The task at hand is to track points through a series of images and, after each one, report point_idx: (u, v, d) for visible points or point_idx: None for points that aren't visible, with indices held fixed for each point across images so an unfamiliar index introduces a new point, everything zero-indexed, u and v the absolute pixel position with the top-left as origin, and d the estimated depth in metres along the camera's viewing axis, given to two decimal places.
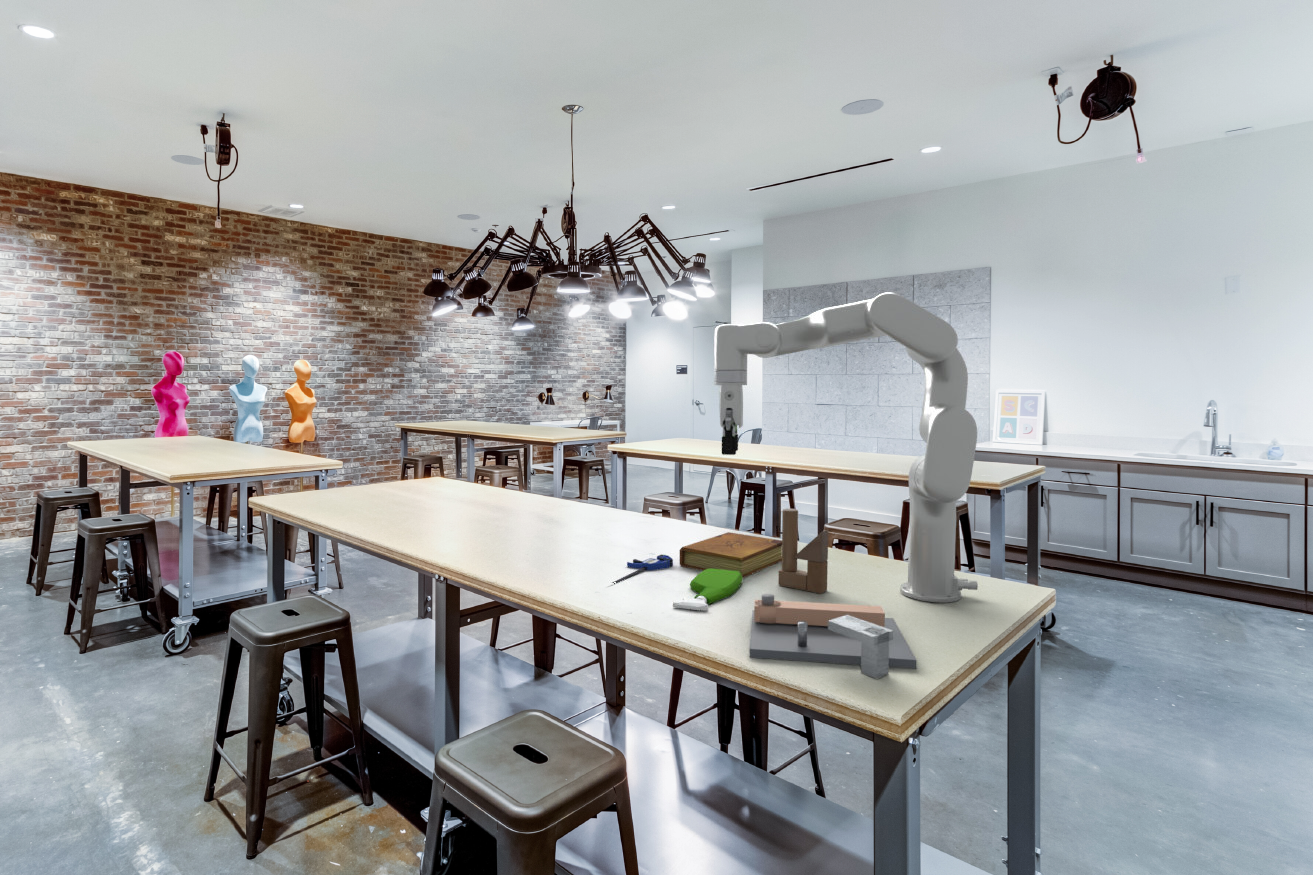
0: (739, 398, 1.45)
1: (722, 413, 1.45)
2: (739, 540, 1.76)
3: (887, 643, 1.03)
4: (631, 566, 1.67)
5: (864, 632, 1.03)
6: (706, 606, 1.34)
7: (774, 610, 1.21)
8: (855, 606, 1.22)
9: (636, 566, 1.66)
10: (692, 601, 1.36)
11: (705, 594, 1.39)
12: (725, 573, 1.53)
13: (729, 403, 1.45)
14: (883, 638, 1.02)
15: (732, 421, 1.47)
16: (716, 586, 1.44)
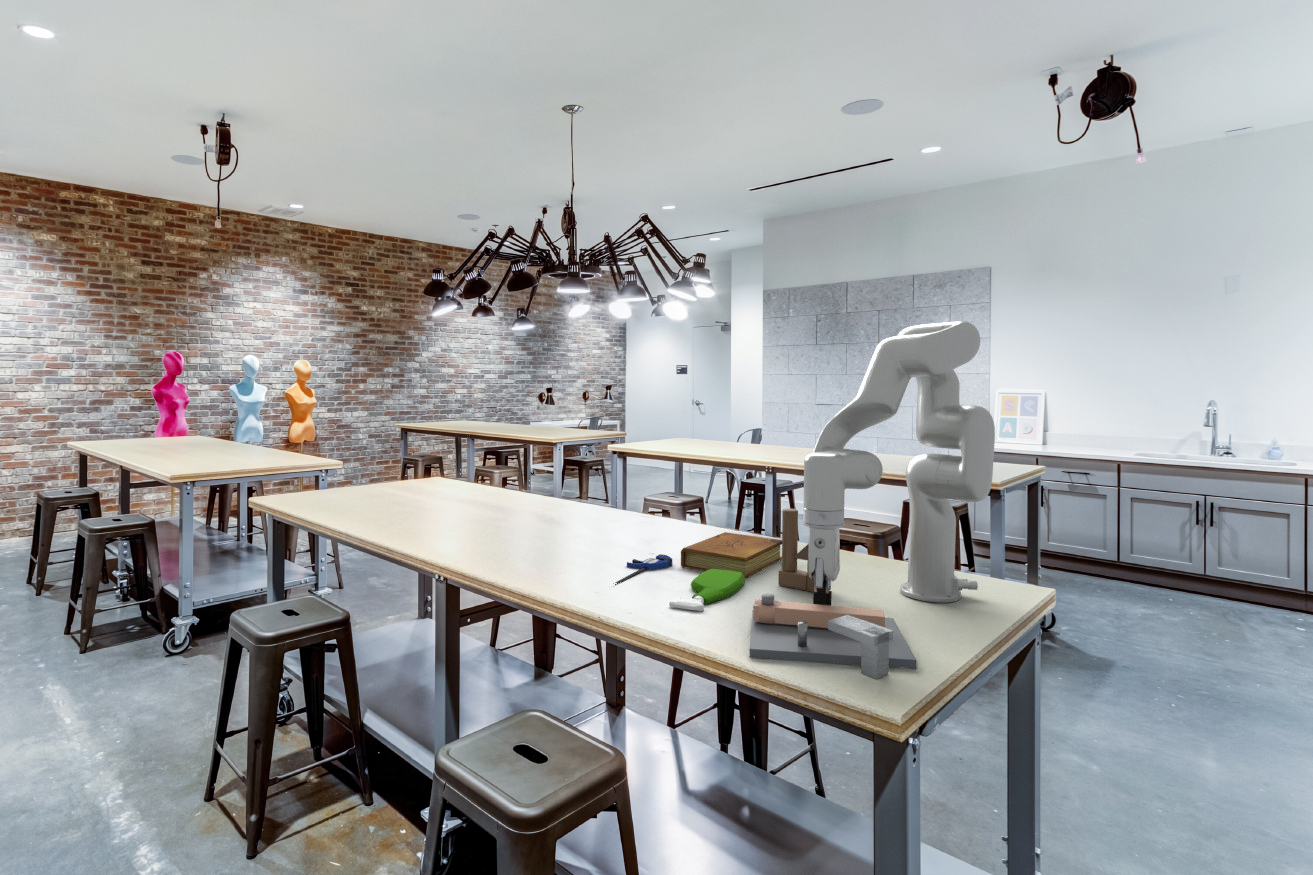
0: (832, 546, 1.18)
1: (811, 563, 1.20)
2: (738, 540, 1.76)
3: (887, 643, 1.03)
4: (631, 566, 1.67)
5: (864, 632, 1.03)
6: (702, 606, 1.34)
7: (773, 610, 1.21)
8: (856, 609, 1.20)
9: (636, 566, 1.66)
10: (688, 601, 1.36)
11: (702, 594, 1.39)
12: (727, 573, 1.53)
13: (819, 552, 1.19)
14: (883, 638, 1.02)
15: (824, 572, 1.21)
16: (715, 586, 1.43)
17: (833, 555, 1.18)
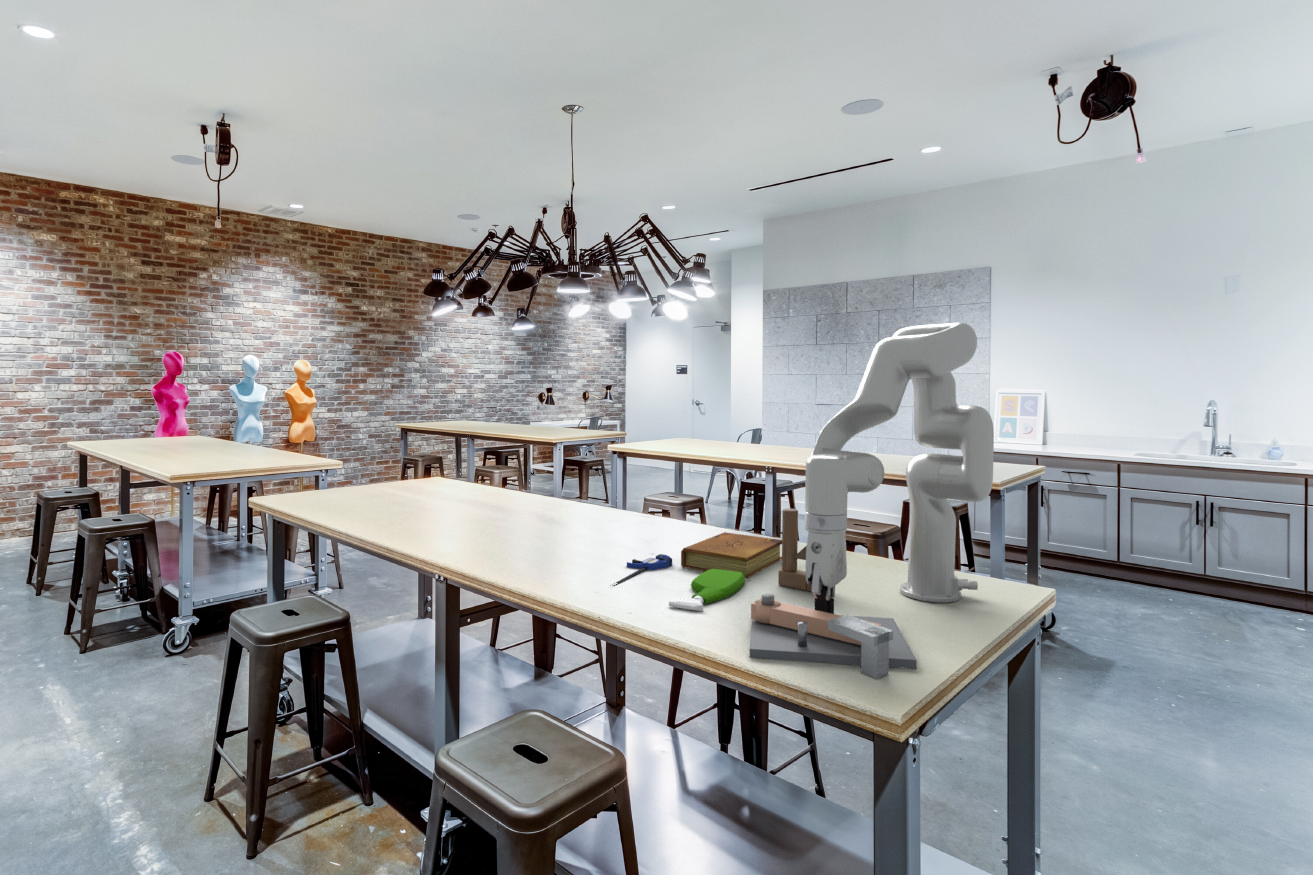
0: (829, 552, 1.15)
1: (807, 568, 1.17)
2: (738, 540, 1.76)
3: (887, 643, 1.03)
4: (631, 566, 1.67)
5: (864, 632, 1.03)
6: (701, 606, 1.34)
7: (768, 610, 1.21)
8: None
9: (636, 566, 1.66)
10: (688, 601, 1.36)
11: (702, 594, 1.39)
12: (727, 573, 1.53)
13: (816, 557, 1.16)
14: (883, 638, 1.02)
15: None
16: (715, 586, 1.43)
17: (830, 561, 1.15)
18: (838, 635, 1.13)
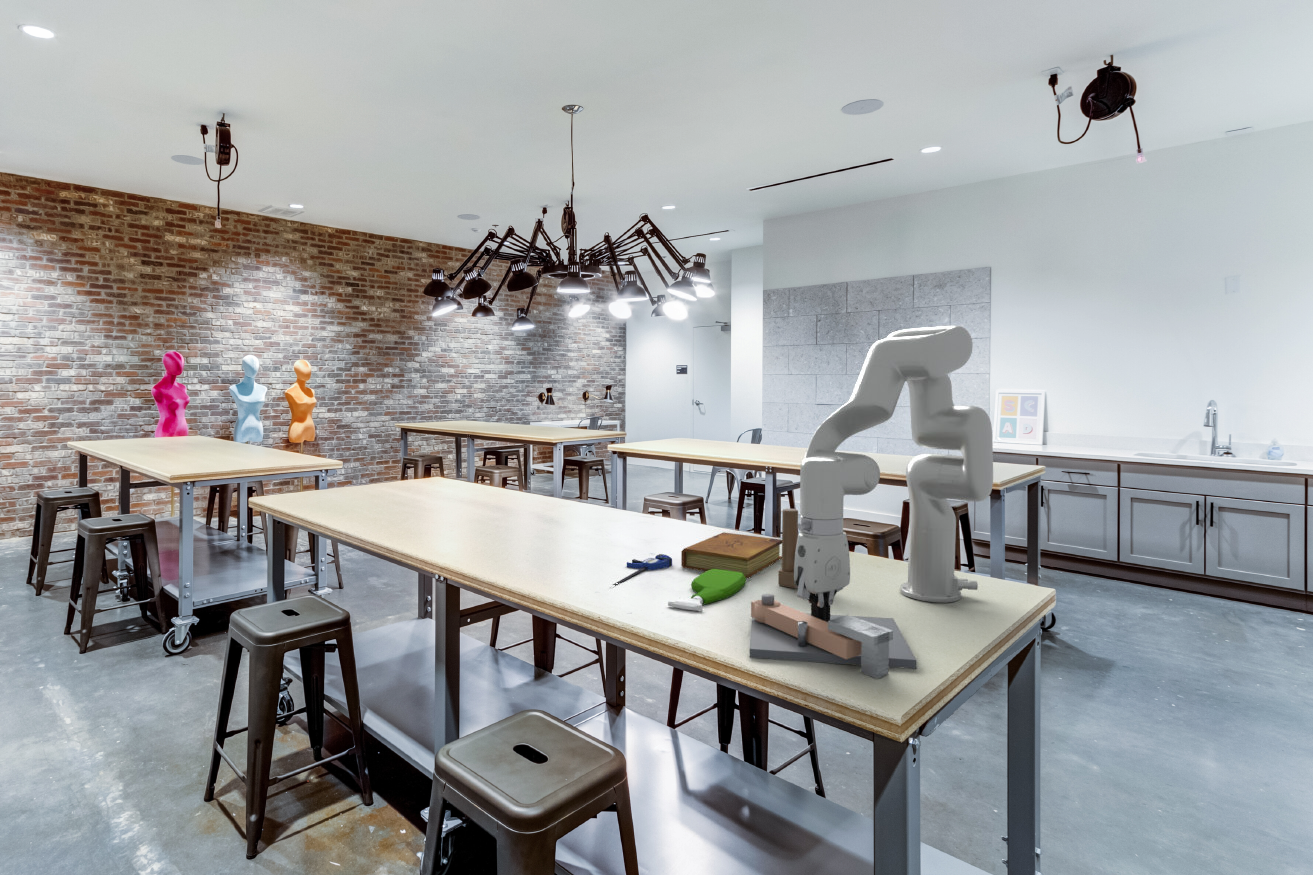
0: (812, 557, 1.12)
1: (794, 571, 1.15)
2: (737, 540, 1.76)
3: (887, 643, 1.03)
4: (631, 566, 1.67)
5: (864, 632, 1.03)
6: (700, 606, 1.34)
7: (764, 610, 1.21)
8: None
9: (636, 566, 1.66)
10: (687, 601, 1.36)
11: (701, 595, 1.39)
12: (728, 574, 1.52)
13: (801, 561, 1.13)
14: (883, 638, 1.02)
15: None
16: (715, 587, 1.43)
17: (813, 566, 1.12)
18: (817, 641, 1.10)
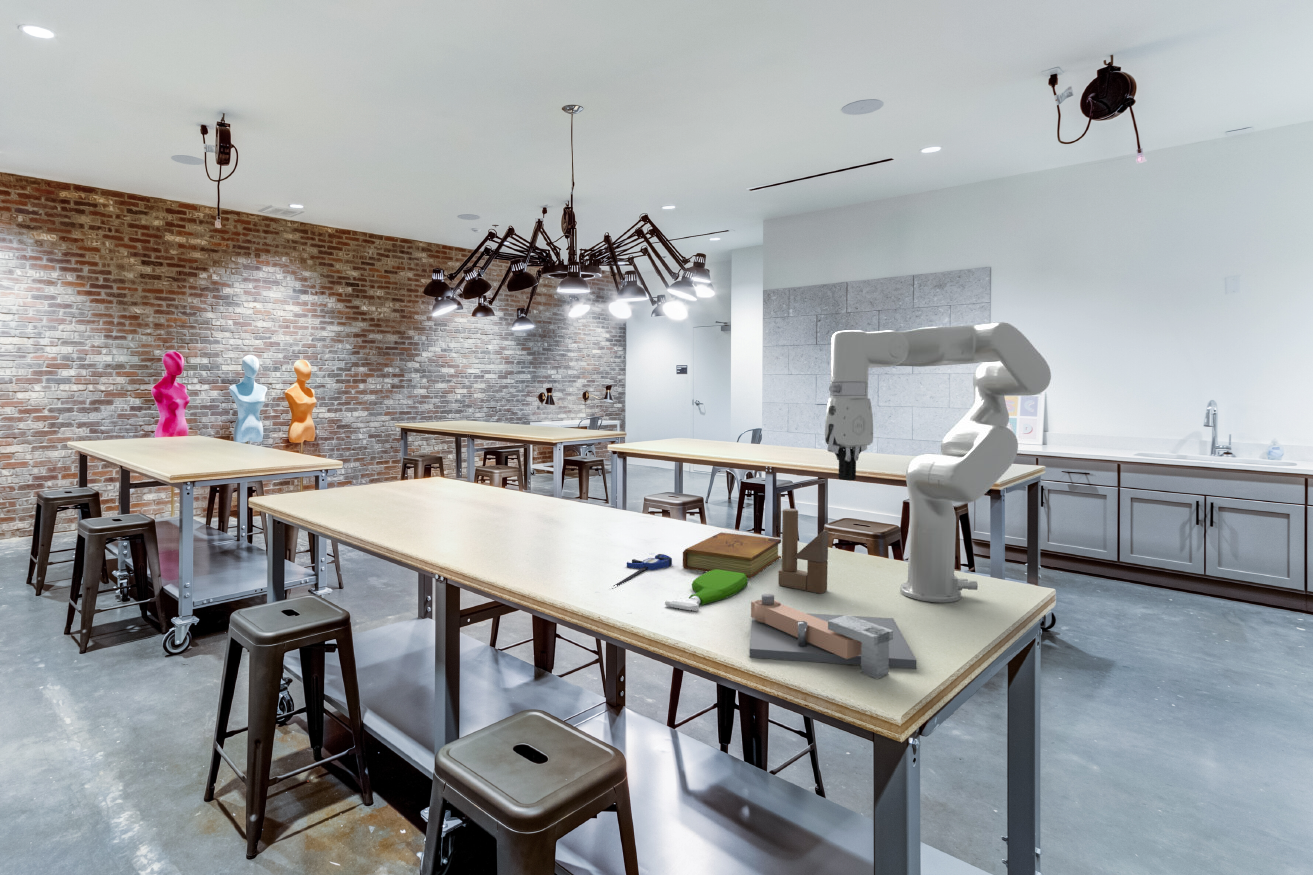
0: (841, 413, 1.29)
1: (825, 429, 1.33)
2: (737, 540, 1.76)
3: (887, 643, 1.03)
4: (631, 566, 1.67)
5: (864, 632, 1.03)
6: (696, 606, 1.34)
7: (764, 610, 1.21)
8: None
9: (636, 566, 1.66)
10: (684, 601, 1.36)
11: (699, 595, 1.39)
12: (729, 574, 1.52)
13: (831, 419, 1.31)
14: (883, 638, 1.02)
15: None
16: (714, 587, 1.43)
17: (842, 421, 1.29)
18: (818, 641, 1.10)
